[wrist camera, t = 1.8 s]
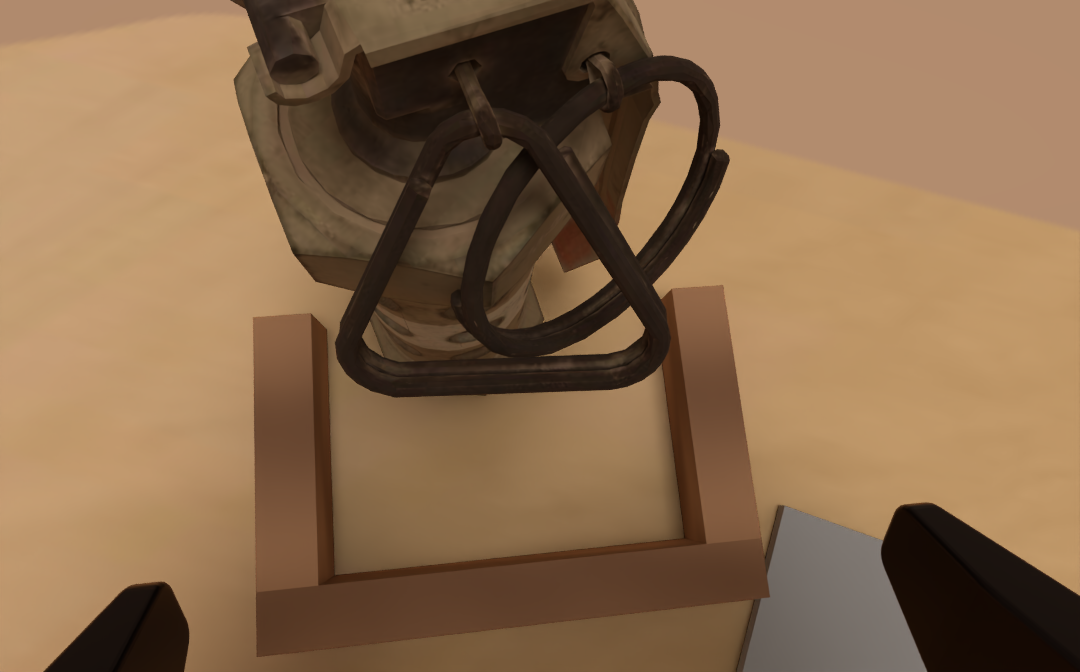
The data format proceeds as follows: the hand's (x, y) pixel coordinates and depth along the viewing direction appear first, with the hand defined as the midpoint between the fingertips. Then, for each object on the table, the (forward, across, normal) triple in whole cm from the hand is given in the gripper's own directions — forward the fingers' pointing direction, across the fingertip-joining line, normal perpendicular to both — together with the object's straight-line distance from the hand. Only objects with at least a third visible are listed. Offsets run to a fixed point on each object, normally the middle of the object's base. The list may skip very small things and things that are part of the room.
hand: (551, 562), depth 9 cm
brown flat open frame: (+10, 0, +7) cm, 12 cm away
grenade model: (+12, 0, +5) cm, 13 cm away
